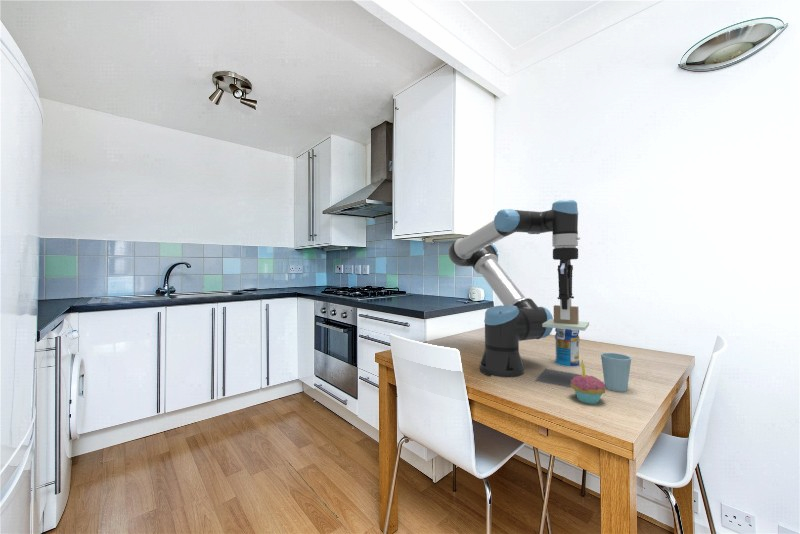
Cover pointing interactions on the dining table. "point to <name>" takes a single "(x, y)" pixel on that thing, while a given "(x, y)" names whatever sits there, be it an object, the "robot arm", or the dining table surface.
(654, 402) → the dining table surface
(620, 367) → the cup
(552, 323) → the lid
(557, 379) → the mat
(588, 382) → the cupcake
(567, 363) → the beverage bottle
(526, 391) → the dining table surface
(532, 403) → the dining table surface
